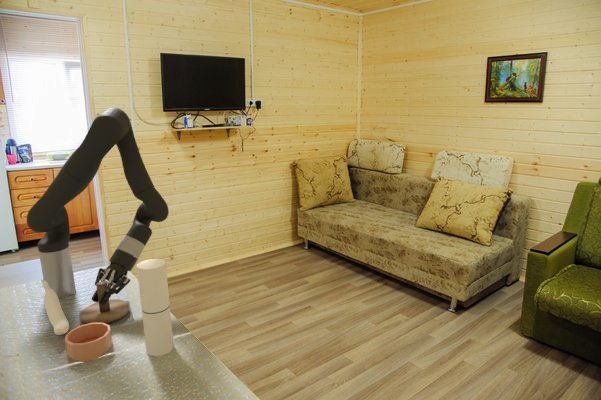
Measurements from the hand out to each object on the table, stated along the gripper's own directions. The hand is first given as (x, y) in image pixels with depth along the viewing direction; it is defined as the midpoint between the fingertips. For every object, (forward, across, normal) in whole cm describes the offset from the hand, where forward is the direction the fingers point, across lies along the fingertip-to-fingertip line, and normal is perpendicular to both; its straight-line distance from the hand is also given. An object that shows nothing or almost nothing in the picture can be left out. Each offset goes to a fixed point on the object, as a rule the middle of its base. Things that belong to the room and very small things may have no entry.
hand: (97, 302), depth 129 cm
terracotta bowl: (+12, +12, -4) cm, 18 cm away
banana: (+12, -5, -3) cm, 13 cm away
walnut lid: (+2, 0, +5) cm, 5 cm away
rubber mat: (+3, 0, +6) cm, 6 cm away
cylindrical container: (+5, +29, +4) cm, 29 cm away
